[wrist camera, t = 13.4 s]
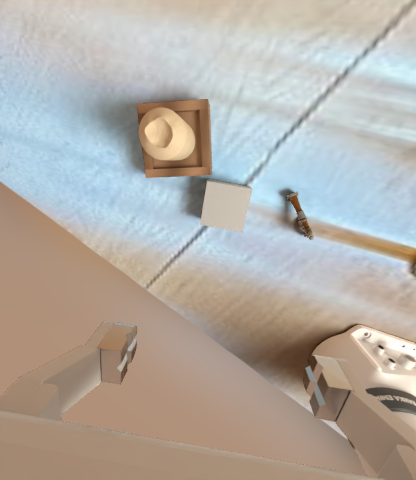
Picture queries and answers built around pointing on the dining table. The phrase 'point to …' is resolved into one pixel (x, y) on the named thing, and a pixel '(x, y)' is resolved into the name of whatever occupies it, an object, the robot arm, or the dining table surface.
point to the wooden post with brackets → (300, 216)
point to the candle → (166, 135)
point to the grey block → (225, 205)
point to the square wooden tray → (201, 157)
